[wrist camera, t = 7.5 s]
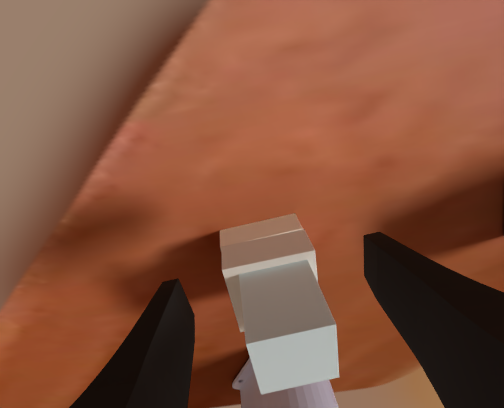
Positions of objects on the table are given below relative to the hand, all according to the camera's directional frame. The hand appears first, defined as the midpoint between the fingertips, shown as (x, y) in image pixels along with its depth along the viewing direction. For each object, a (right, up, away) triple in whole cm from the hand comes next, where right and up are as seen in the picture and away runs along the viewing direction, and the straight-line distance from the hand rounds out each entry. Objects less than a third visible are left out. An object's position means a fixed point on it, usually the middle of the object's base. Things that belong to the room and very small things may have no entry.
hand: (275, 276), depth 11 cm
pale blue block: (+1, -3, +8) cm, 9 cm away
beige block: (0, -2, +11) cm, 11 cm away
